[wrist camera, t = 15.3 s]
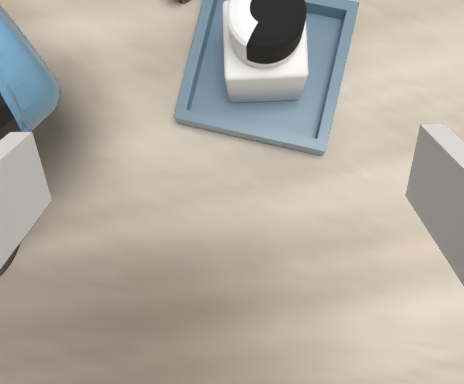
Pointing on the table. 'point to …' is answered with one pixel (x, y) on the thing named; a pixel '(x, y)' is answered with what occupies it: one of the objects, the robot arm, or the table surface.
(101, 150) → the table surface
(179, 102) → the tray
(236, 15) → the medicine bottle
